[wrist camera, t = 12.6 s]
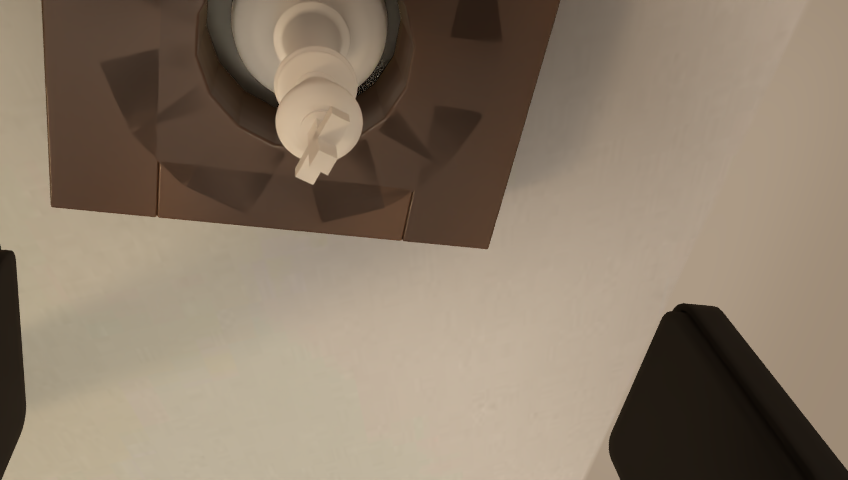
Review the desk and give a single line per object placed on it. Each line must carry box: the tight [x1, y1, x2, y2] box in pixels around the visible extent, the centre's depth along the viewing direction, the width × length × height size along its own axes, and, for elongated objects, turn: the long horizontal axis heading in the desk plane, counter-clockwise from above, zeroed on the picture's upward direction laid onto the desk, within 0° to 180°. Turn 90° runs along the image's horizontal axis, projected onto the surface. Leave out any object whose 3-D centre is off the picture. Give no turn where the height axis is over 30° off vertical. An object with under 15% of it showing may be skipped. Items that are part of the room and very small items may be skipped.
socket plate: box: [42, 0, 560, 249], centre depth 23 cm, size 14×12×3 cm
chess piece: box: [231, 0, 388, 185], centre depth 20 cm, size 5×5×10 cm
